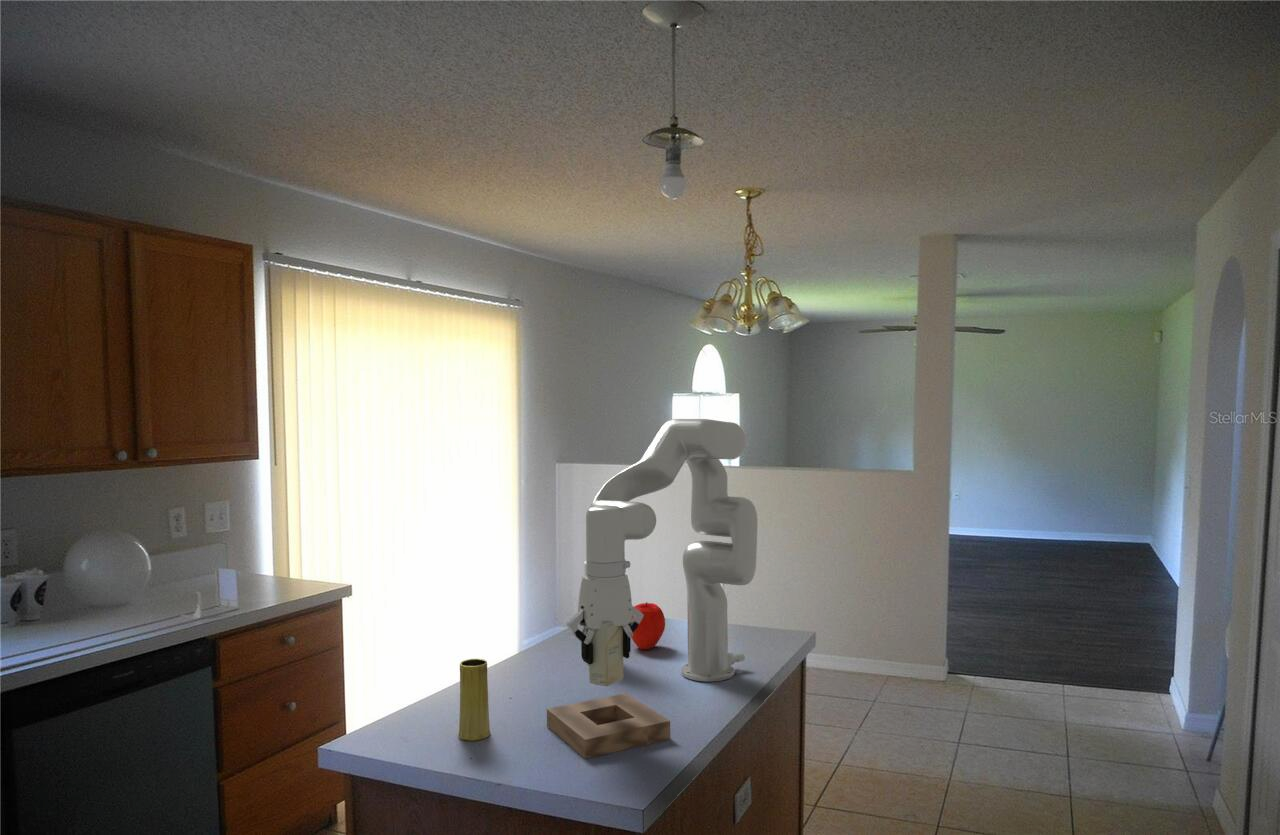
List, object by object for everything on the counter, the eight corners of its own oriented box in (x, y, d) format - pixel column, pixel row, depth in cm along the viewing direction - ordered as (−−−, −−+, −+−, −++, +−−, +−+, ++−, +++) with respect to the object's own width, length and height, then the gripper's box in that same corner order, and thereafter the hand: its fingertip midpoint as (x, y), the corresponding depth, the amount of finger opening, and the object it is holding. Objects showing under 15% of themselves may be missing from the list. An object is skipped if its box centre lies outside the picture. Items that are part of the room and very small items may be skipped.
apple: (665, 653, 217) (665, 606, 217) (627, 653, 217) (627, 606, 217) (665, 642, 227) (664, 597, 227) (628, 643, 227) (628, 598, 227)
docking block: (626, 709, 177) (625, 693, 177) (670, 738, 162) (670, 720, 161) (546, 726, 168) (546, 708, 168) (585, 758, 153) (585, 739, 153)
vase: (460, 729, 167) (459, 658, 167) (491, 728, 168) (490, 657, 167) (456, 742, 161) (455, 667, 161) (488, 740, 162) (487, 666, 161)
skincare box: (607, 687, 161) (607, 624, 161) (588, 683, 163) (587, 621, 163) (624, 678, 166) (624, 617, 166) (605, 674, 169) (605, 614, 168)
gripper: (635, 562, 172) (635, 648, 172) (557, 570, 164) (557, 661, 164) (653, 568, 166) (654, 657, 166) (573, 577, 157) (573, 671, 157)
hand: (606, 658), depth 165 cm, fingers closed on skincare box, 7 cm apart
